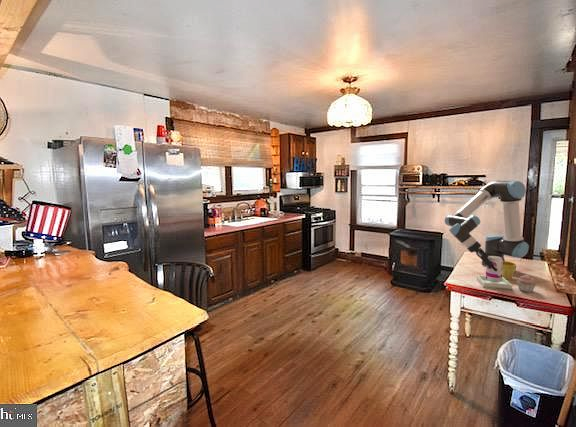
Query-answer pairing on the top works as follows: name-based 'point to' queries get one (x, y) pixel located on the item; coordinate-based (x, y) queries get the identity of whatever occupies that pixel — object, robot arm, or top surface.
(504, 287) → the dish
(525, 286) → the cupcake
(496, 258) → the supplement can
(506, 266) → the plant pot
